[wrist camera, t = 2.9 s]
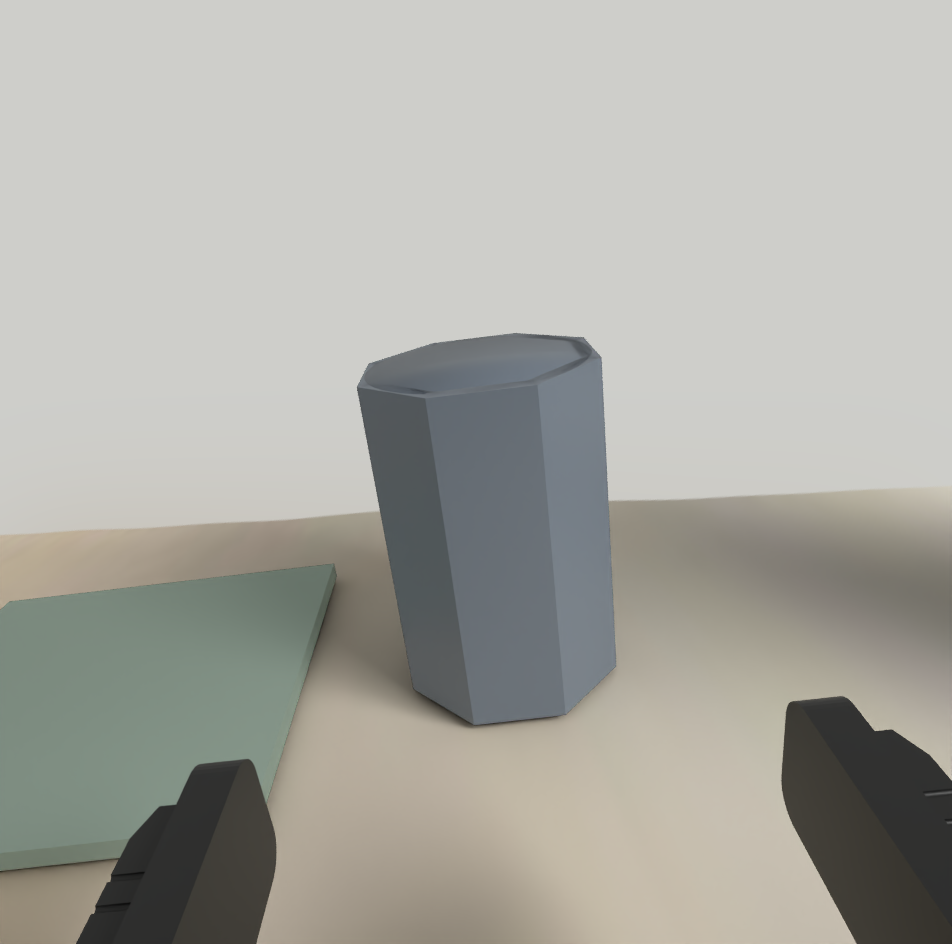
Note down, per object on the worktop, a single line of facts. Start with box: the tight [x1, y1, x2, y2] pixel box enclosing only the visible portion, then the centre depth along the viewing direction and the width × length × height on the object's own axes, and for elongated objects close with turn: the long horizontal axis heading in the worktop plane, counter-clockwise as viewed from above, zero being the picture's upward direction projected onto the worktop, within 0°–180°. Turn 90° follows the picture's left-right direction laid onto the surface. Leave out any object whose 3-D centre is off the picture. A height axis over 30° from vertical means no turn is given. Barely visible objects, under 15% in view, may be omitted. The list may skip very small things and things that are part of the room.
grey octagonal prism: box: [357, 333, 616, 725], centre depth 21 cm, size 6×6×10 cm
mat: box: [0, 564, 337, 871], centre depth 23 cm, size 14×13×1 cm
